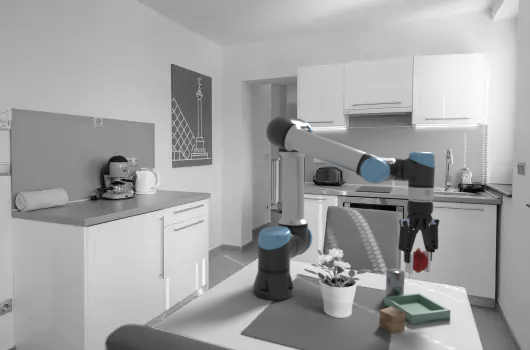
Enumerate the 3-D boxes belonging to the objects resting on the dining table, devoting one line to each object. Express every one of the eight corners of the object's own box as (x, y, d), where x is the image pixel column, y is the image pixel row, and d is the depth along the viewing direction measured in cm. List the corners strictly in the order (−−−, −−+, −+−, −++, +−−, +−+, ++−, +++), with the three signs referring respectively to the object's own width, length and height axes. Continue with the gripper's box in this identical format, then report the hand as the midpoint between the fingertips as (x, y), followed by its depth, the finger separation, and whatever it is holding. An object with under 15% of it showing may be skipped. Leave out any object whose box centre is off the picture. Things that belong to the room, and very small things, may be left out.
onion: (429, 276, 110) (430, 251, 110) (410, 275, 111) (411, 250, 111) (425, 270, 116) (426, 246, 115) (406, 269, 117) (407, 245, 116)
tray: (384, 305, 119) (384, 296, 119) (418, 301, 123) (419, 293, 123) (412, 324, 106) (412, 315, 105) (450, 319, 109) (450, 310, 109)
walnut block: (379, 326, 105) (379, 310, 104) (390, 322, 107) (391, 306, 107) (393, 334, 100) (393, 316, 100) (404, 329, 103) (405, 313, 103)
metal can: (382, 296, 127) (383, 269, 126) (396, 294, 129) (397, 268, 128) (392, 303, 121) (393, 274, 121) (407, 301, 123) (408, 273, 122)
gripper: (402, 202, 106) (399, 278, 107) (453, 201, 111) (450, 273, 112) (387, 199, 113) (385, 270, 115) (436, 198, 118) (433, 266, 120)
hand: (417, 271), depth 113 cm, fingers closed on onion, 6 cm apart
